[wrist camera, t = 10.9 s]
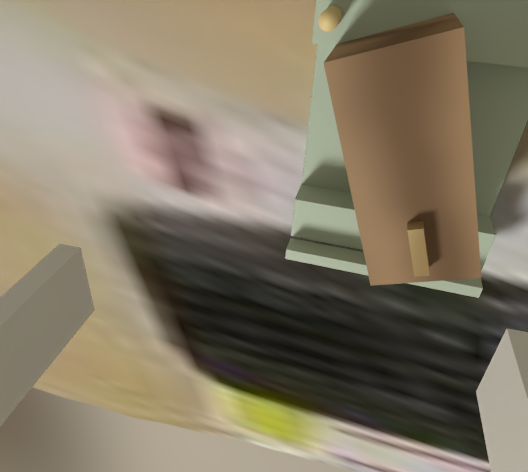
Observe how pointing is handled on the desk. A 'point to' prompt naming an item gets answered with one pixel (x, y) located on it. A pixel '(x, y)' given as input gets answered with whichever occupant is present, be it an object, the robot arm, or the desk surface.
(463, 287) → the carcass
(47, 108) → the desk surface
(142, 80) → the desk surface
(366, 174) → the door
